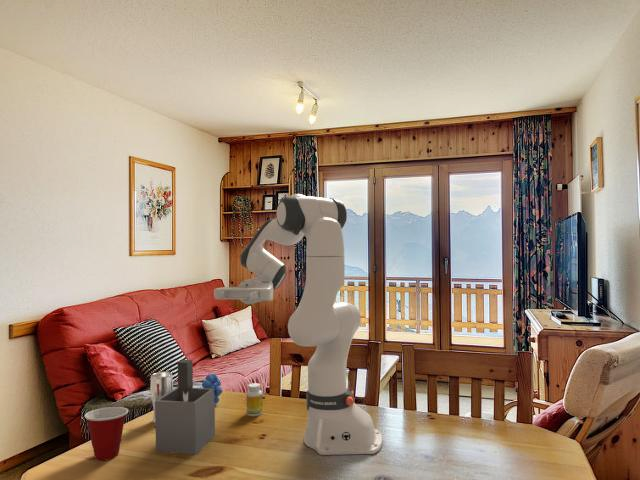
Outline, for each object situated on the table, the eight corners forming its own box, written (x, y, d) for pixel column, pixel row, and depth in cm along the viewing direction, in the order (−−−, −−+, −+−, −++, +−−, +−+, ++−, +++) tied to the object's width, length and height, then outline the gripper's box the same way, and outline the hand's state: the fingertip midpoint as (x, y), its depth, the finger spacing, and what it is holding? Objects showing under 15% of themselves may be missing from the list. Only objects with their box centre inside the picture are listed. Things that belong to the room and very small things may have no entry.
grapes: (214, 414, 147) (214, 378, 147) (196, 413, 148) (195, 377, 148) (230, 402, 158) (229, 369, 158) (213, 401, 160) (212, 368, 160)
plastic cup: (138, 449, 123) (137, 406, 123) (107, 468, 113) (106, 421, 113) (108, 444, 126) (107, 402, 127) (75, 461, 116) (74, 416, 116)
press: (215, 435, 131) (214, 388, 131) (196, 454, 119) (195, 403, 119) (178, 433, 133) (177, 387, 133) (155, 451, 121) (154, 401, 121)
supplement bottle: (246, 411, 149) (245, 383, 149) (262, 409, 150) (261, 381, 150) (247, 417, 144) (246, 388, 144) (263, 415, 145) (262, 386, 145)
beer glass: (159, 426, 138) (158, 379, 138) (146, 421, 142) (145, 375, 142) (178, 419, 143) (177, 373, 143) (165, 414, 148) (164, 370, 148)
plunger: (208, 431, 129) (206, 357, 130) (193, 445, 120) (192, 366, 121) (179, 429, 131) (178, 356, 131) (163, 443, 122) (161, 365, 122)
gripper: (222, 282, 159) (205, 286, 146) (277, 282, 155) (264, 286, 142) (223, 299, 159) (206, 305, 145) (277, 300, 155) (264, 305, 141)
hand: (235, 295), depth 143 cm, fingers open, 8 cm apart
